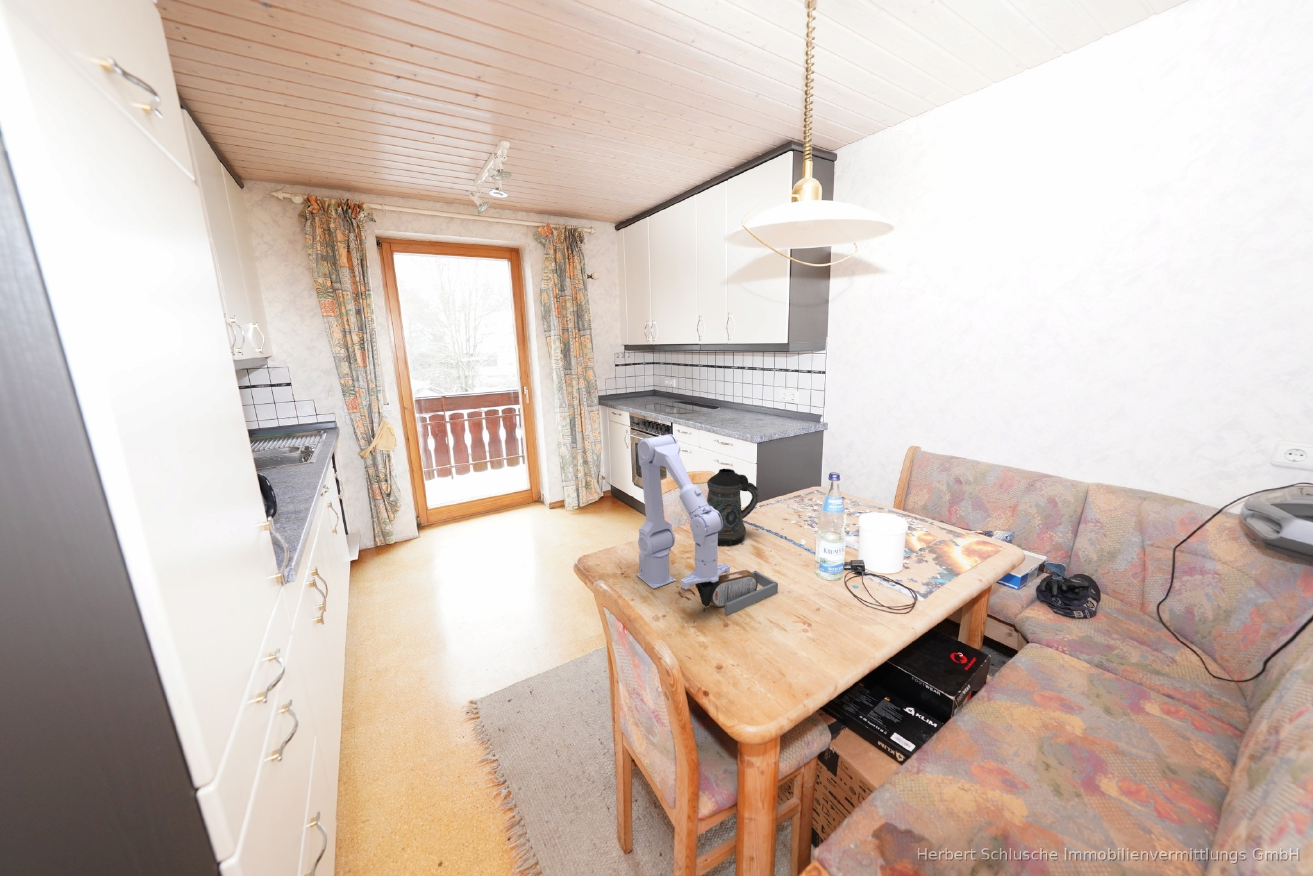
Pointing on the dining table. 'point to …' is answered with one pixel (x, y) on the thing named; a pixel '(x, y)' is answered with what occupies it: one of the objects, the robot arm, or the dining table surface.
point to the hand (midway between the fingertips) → (705, 604)
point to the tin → (734, 587)
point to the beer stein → (731, 504)
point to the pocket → (753, 594)
